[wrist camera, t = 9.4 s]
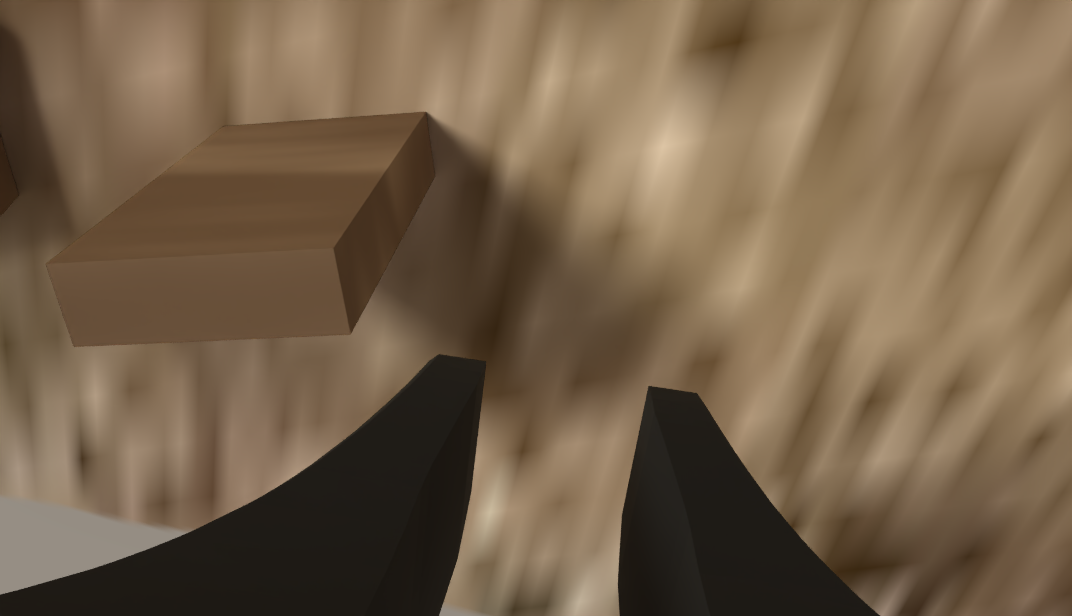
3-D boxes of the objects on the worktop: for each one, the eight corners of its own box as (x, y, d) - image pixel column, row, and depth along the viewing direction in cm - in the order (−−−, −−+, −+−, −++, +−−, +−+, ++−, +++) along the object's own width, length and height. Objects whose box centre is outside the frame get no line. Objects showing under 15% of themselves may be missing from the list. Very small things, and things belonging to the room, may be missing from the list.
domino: (435, 176, 21) (350, 334, 15) (238, 188, 22) (73, 346, 15) (425, 111, 21) (332, 248, 14) (223, 126, 21) (45, 264, 15)
